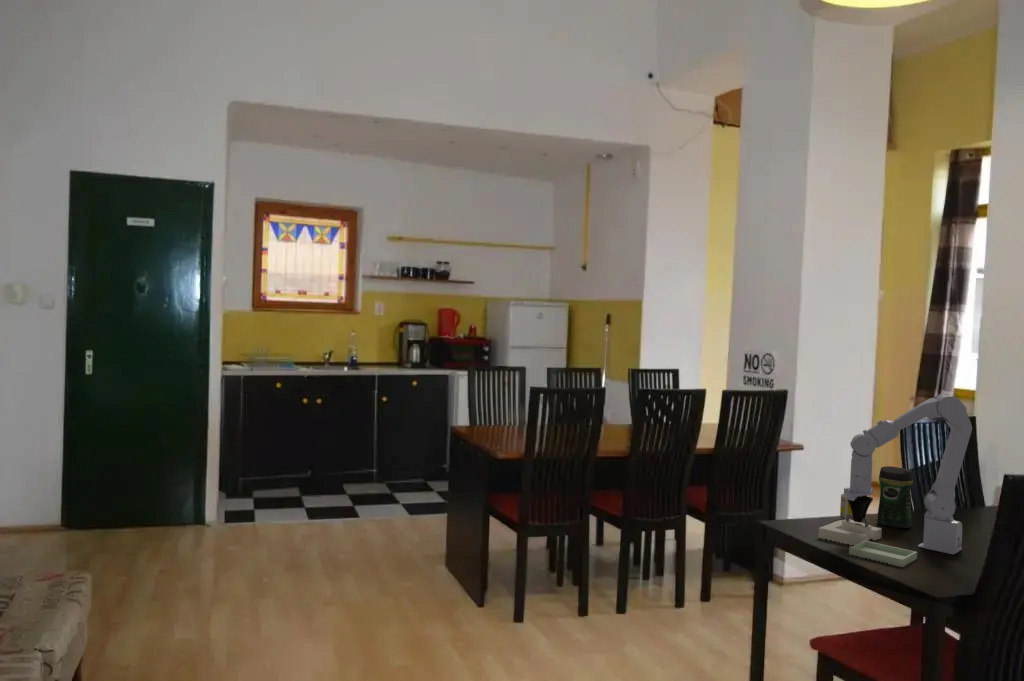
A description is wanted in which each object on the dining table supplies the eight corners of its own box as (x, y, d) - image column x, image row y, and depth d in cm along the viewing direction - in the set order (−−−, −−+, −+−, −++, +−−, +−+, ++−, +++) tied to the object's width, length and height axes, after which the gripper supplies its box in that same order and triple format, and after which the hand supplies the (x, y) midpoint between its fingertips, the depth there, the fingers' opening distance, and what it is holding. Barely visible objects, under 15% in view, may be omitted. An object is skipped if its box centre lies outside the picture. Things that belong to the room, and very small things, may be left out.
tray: (916, 559, 219) (917, 551, 219) (902, 567, 211) (902, 559, 211) (864, 547, 229) (865, 540, 229) (848, 554, 221) (849, 547, 221)
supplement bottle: (861, 520, 260) (863, 489, 260) (853, 523, 257) (854, 491, 256) (845, 517, 265) (846, 486, 264) (836, 519, 261) (838, 488, 261)
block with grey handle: (869, 540, 237) (872, 519, 236) (863, 543, 234) (867, 521, 233) (845, 533, 241) (849, 512, 241) (840, 535, 239) (843, 514, 238)
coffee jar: (914, 526, 255) (917, 468, 255) (904, 530, 250) (908, 471, 249) (883, 520, 262) (885, 463, 262) (873, 524, 257) (876, 466, 256)
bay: (881, 538, 240) (881, 528, 239) (861, 547, 229) (861, 537, 229) (839, 529, 248) (840, 519, 248) (818, 537, 238) (819, 527, 237)
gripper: (857, 470, 244) (855, 514, 245) (837, 476, 234) (834, 522, 234) (881, 474, 239) (878, 519, 240) (861, 480, 229) (859, 527, 229)
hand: (858, 521), depth 237 cm, fingers closed on block with grey handle
